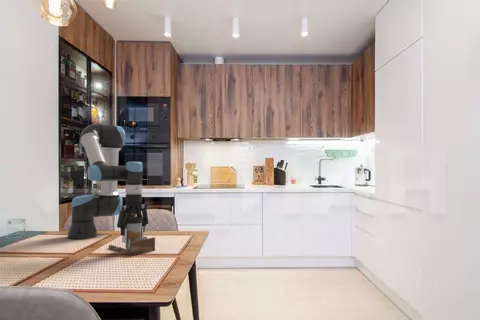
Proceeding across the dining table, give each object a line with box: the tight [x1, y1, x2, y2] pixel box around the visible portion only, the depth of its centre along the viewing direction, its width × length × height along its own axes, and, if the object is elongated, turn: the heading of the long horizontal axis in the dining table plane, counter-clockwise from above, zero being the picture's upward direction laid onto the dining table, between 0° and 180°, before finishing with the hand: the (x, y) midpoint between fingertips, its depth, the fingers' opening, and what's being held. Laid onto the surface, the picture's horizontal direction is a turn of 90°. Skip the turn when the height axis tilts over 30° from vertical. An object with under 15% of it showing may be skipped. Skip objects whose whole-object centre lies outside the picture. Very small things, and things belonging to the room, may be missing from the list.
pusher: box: [128, 235, 148, 250], centre depth 151 cm, size 4×9×6 cm, turn 141°
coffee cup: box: [125, 215, 142, 250], centre depth 154 cm, size 8×8×15 cm
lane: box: [108, 237, 156, 256], centre depth 155 cm, size 20×12×6 cm, turn 51°
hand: (132, 240), depth 154 cm, fingers closed on coffee cup, 8 cm apart
